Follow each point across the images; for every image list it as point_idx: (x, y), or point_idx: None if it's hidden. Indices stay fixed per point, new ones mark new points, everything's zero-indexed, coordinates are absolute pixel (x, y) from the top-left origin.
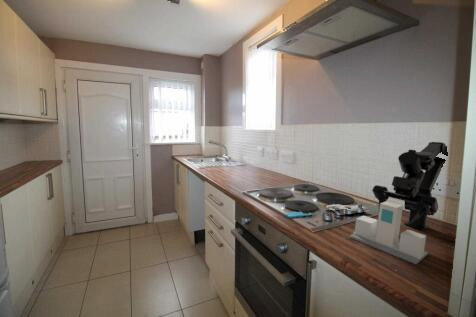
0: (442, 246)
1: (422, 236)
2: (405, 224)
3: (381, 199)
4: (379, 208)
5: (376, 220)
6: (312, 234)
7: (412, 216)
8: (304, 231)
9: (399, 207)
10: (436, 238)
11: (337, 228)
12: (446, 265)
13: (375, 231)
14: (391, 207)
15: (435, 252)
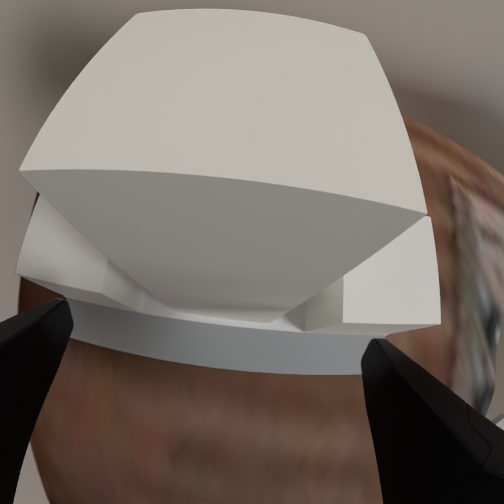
0: (53, 469)
1: (31, 234)
2: None
3: (496, 455)
4: (413, 366)
5: (345, 301)
6: (437, 158)
7: (15, 321)
8: (456, 163)
9: (99, 61)
10: None
11: (446, 281)
12: (22, 280)
13: (312, 314)
14: (204, 19)
15: (51, 384)
